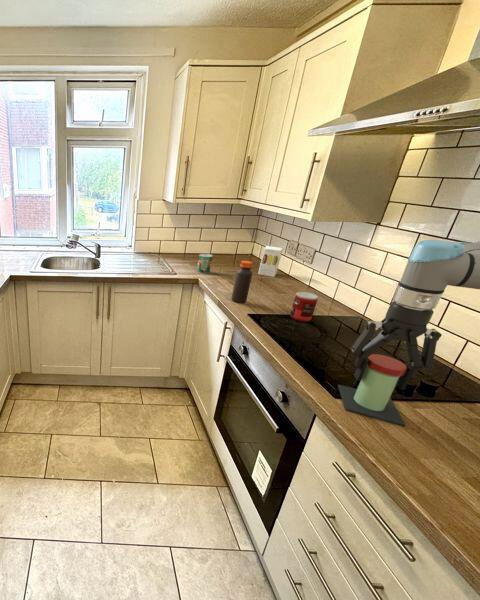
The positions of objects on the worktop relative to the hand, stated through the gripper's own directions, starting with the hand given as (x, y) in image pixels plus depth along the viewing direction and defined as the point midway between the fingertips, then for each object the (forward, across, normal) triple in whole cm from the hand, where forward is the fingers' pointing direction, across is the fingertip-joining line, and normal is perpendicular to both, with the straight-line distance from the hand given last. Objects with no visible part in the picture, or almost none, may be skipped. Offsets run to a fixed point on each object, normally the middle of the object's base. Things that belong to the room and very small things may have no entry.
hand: (378, 382), depth 85 cm
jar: (+7, 0, 0) cm, 7 cm away
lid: (-6, 0, 0) cm, 6 cm away
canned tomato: (+8, -50, +113) cm, 124 cm away
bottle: (+8, -31, +69) cm, 76 cm away
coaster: (+8, 0, 0) cm, 8 cm away
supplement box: (+8, -13, +125) cm, 126 cm away
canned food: (+8, -6, +58) cm, 59 cm away
